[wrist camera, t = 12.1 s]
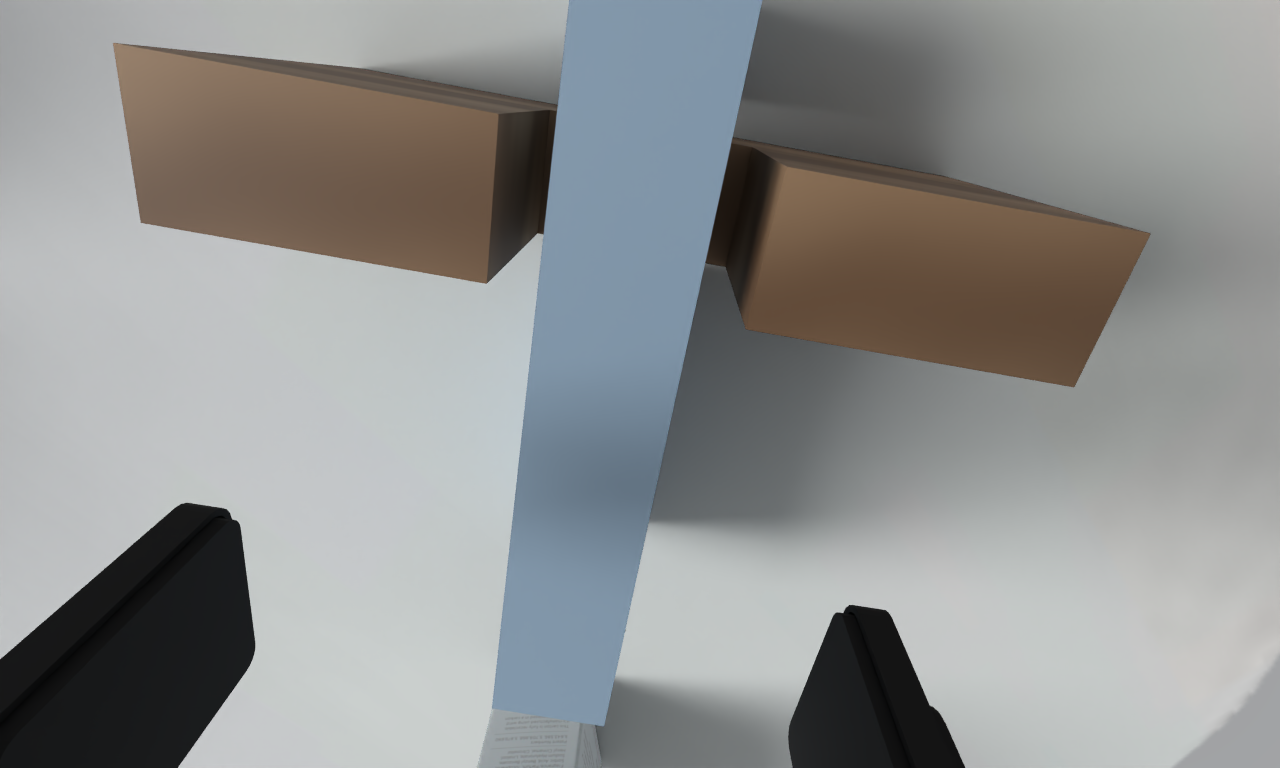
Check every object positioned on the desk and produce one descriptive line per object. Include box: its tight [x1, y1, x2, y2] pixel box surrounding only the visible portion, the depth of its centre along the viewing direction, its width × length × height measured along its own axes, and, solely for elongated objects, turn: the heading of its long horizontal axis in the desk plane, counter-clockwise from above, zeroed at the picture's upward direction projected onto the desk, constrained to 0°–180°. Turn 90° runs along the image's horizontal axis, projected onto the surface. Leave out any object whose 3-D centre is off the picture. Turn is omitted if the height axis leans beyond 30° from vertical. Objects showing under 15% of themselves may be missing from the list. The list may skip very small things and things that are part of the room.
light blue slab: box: [492, 0, 762, 726], centre depth 17 cm, size 18×3×9 cm, turn 170°
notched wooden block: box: [113, 43, 1150, 387], centre depth 16 cm, size 3×18×9 cm, turn 80°
